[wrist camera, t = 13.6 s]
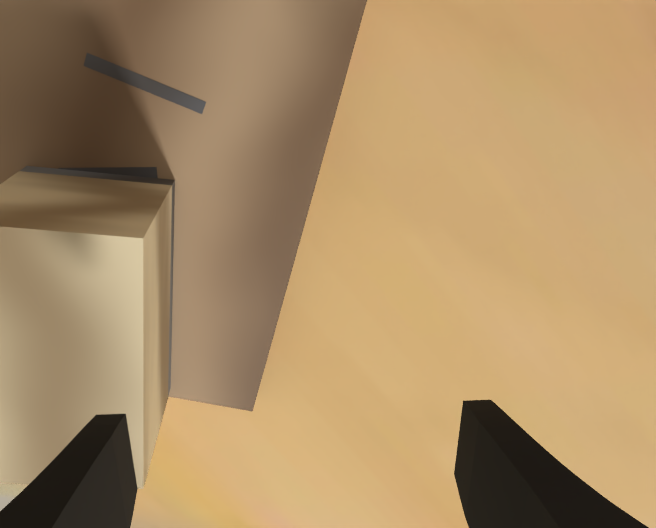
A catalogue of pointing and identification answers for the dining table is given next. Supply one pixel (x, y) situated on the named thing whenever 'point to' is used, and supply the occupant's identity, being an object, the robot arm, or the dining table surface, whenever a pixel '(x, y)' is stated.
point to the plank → (190, 144)
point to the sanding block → (82, 311)
